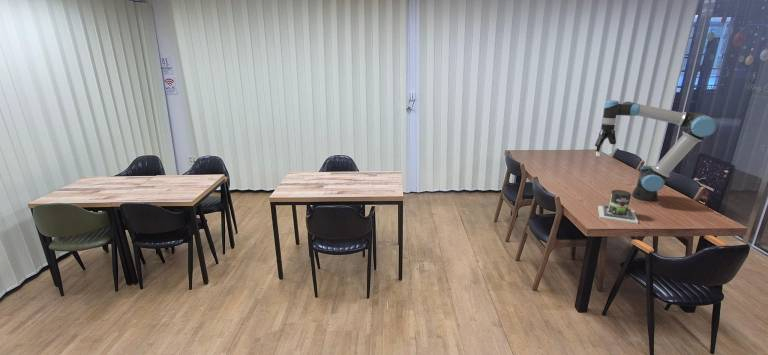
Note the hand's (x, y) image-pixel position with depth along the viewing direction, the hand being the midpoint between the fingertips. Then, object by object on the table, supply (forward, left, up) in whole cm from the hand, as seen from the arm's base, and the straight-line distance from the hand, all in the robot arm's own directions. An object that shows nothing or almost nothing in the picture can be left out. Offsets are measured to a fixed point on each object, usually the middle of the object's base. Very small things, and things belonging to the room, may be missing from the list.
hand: (603, 154), depth 248 cm
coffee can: (-10, +30, -30) cm, 44 cm away
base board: (-10, +30, -31) cm, 45 cm away
